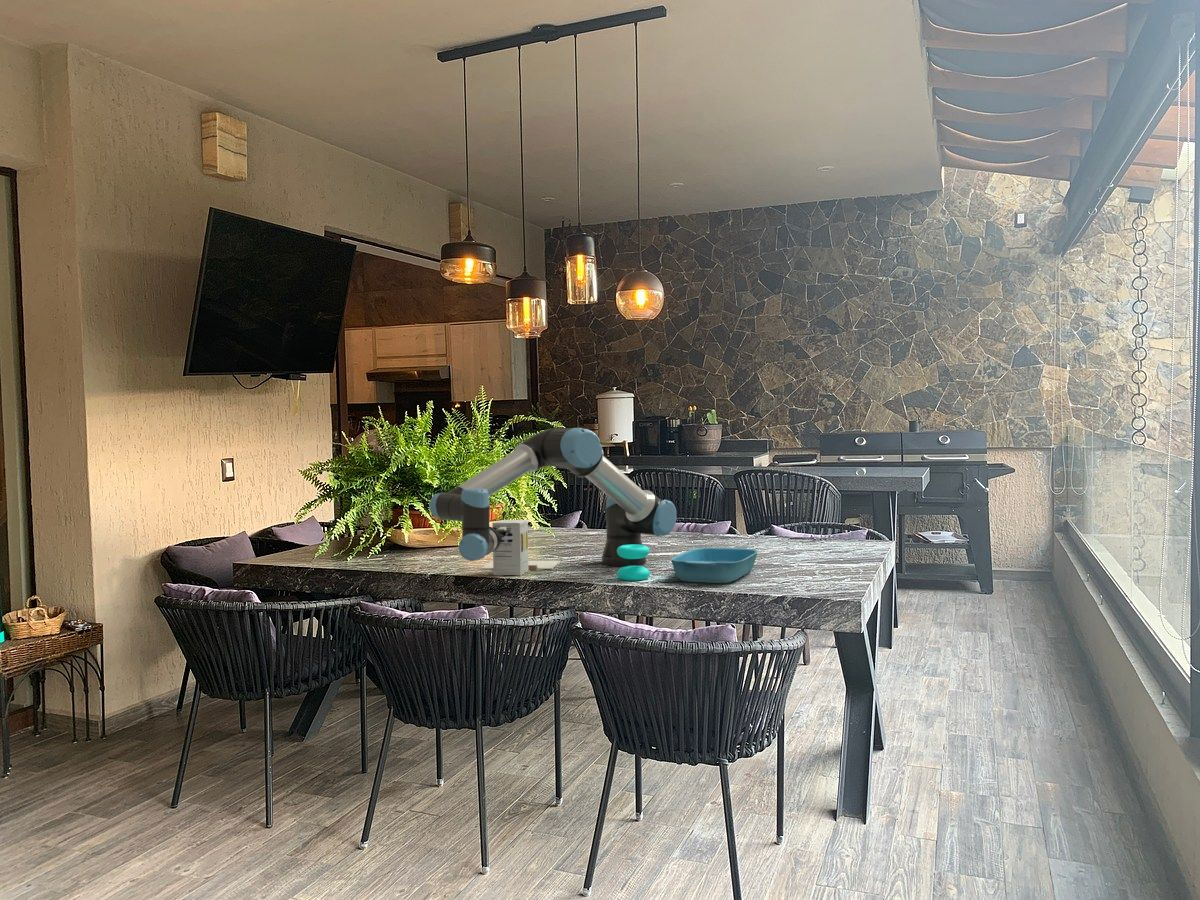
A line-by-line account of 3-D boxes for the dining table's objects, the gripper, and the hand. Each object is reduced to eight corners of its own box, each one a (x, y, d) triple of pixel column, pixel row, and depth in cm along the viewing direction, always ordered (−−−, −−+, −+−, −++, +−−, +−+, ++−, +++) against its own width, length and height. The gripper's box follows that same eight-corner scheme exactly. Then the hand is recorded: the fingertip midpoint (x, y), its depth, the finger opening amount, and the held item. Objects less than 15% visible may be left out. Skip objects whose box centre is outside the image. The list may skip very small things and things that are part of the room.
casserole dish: (697, 565, 311) (697, 544, 311) (764, 568, 303) (764, 546, 303) (661, 584, 277) (661, 560, 277) (736, 588, 269) (735, 564, 269)
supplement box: (520, 576, 295) (519, 522, 294) (492, 575, 297) (491, 522, 296) (529, 571, 304) (528, 519, 304) (501, 570, 306) (500, 519, 305)
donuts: (644, 548, 281) (612, 547, 284) (645, 582, 281) (613, 580, 284) (653, 544, 290) (622, 543, 293) (653, 576, 291) (622, 575, 294)
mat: (560, 562, 322) (560, 557, 322) (551, 570, 305) (551, 565, 305) (491, 562, 325) (491, 557, 325) (479, 570, 308) (479, 565, 308)
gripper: (463, 554, 269) (483, 543, 292) (507, 554, 267) (524, 543, 291) (462, 527, 269) (483, 519, 292) (507, 527, 267) (524, 519, 291)
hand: (503, 531), depth 291 cm, fingers closed
